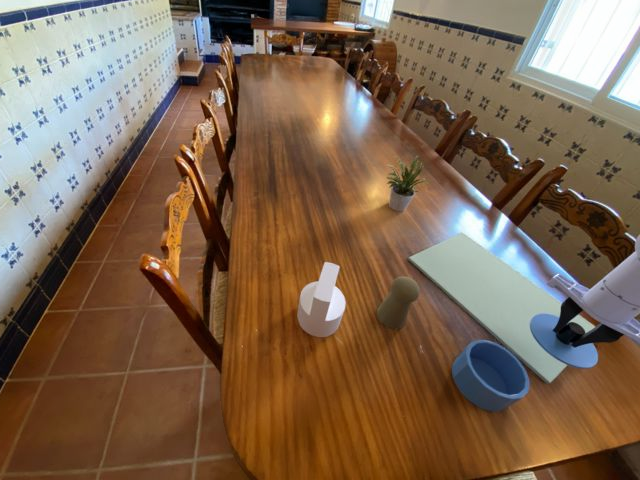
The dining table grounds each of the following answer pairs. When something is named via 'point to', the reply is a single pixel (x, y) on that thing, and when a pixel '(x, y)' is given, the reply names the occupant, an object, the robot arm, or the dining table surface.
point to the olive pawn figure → (398, 302)
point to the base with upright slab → (322, 304)
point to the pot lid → (563, 341)
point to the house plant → (403, 185)
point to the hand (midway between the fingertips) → (566, 336)
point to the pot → (490, 376)
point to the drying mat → (494, 297)
